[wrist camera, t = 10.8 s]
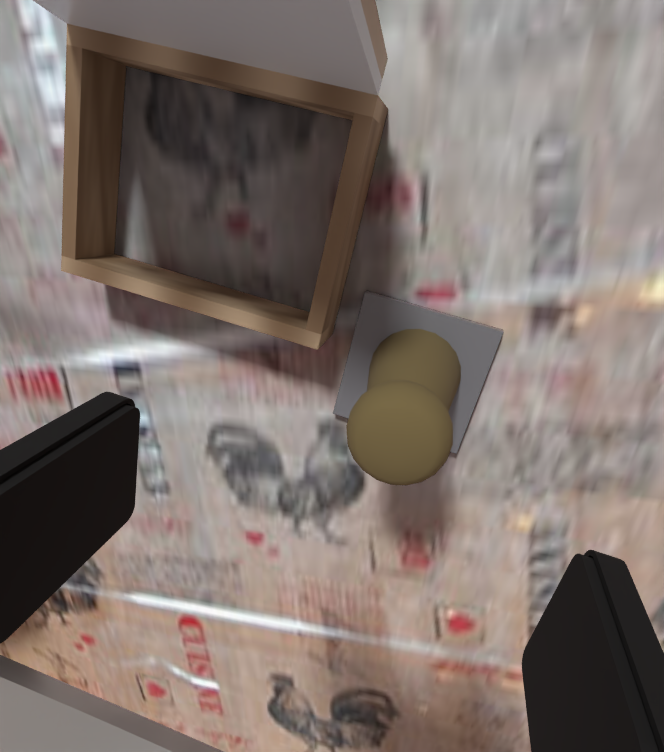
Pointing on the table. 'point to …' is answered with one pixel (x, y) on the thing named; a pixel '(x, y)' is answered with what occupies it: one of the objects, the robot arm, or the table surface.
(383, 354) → the yellow tapered piece
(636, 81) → the table surface
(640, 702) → the robot arm
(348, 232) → the wooden box
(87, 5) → the lid
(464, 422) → the coaster
